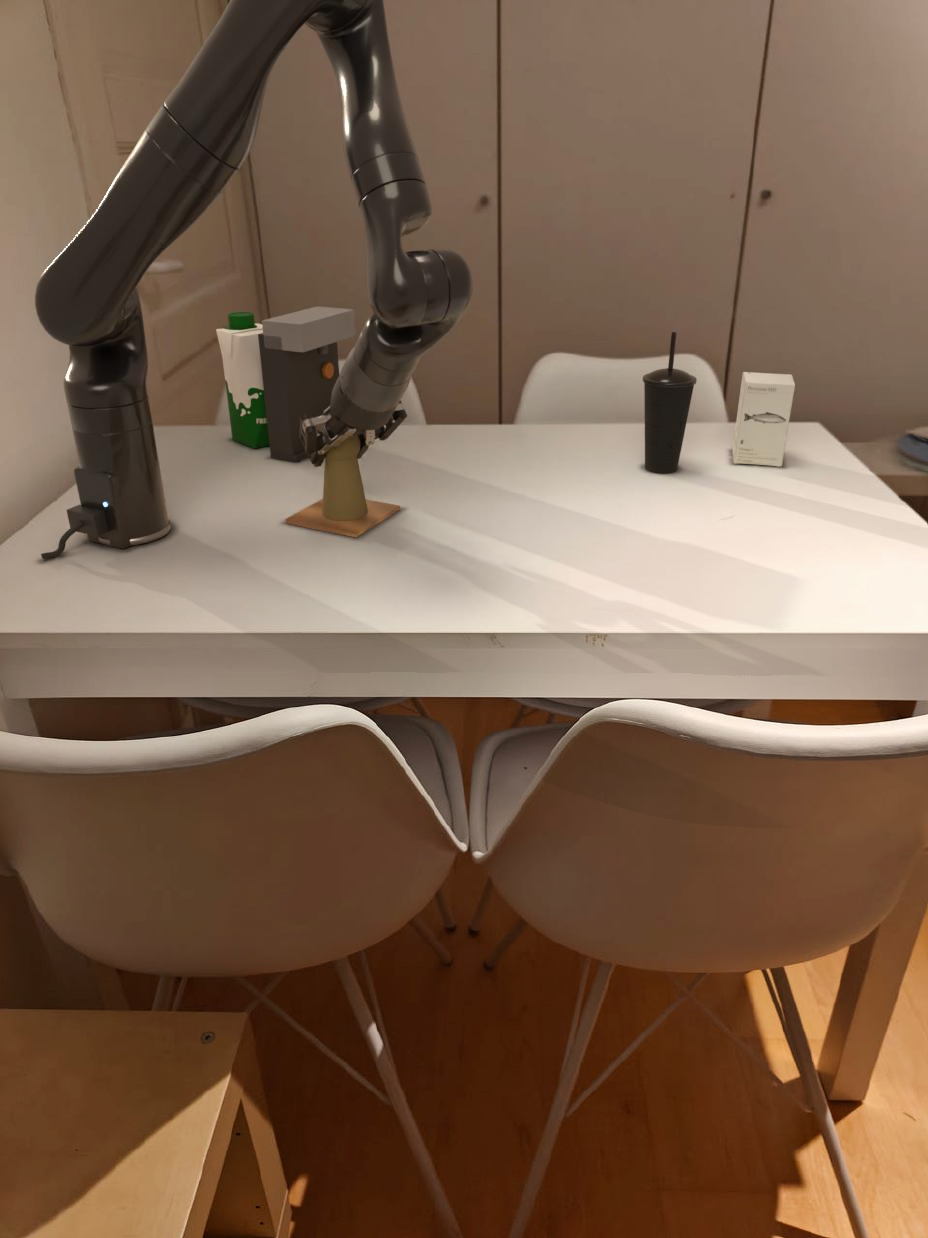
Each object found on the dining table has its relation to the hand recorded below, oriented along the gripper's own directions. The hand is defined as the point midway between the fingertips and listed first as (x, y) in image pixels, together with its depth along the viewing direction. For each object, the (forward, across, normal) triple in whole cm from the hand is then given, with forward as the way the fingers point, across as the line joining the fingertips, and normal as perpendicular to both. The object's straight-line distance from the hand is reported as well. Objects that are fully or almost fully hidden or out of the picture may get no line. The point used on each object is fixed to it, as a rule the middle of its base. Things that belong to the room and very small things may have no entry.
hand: (334, 456), depth 121 cm
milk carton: (+32, -4, -21) cm, 38 cm away
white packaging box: (-5, -64, +17) cm, 67 cm away
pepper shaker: (+4, 0, +6) cm, 8 cm away
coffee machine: (+25, -9, -14) cm, 31 cm away
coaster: (+4, 0, +7) cm, 8 cm away
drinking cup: (-2, -49, +13) cm, 51 cm away
